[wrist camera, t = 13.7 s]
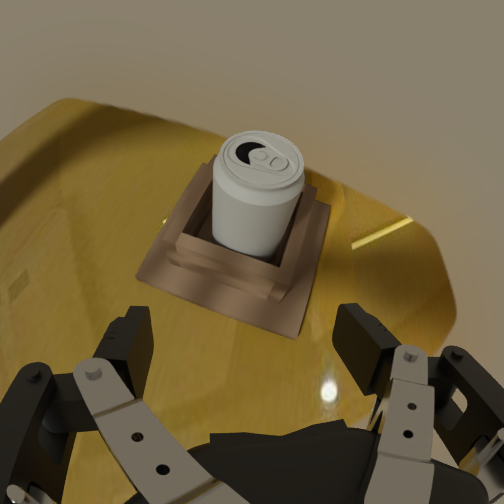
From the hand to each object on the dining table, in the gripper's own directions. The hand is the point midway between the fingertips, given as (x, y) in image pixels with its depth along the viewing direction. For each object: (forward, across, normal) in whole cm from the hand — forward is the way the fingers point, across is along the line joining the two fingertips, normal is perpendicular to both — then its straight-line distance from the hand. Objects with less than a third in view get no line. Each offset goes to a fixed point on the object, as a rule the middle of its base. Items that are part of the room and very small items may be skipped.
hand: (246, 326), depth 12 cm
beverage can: (+17, -2, +2) cm, 18 cm away
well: (+18, -2, +1) cm, 19 cm away
